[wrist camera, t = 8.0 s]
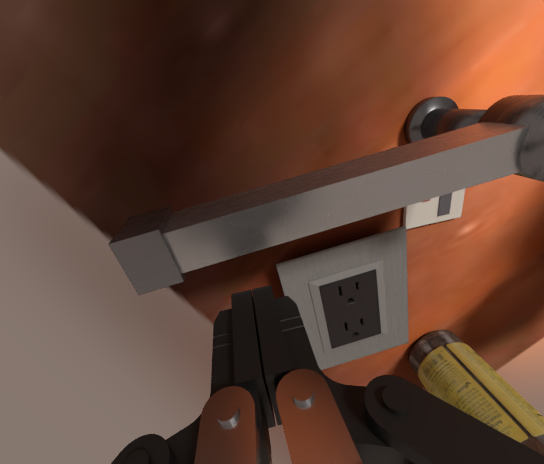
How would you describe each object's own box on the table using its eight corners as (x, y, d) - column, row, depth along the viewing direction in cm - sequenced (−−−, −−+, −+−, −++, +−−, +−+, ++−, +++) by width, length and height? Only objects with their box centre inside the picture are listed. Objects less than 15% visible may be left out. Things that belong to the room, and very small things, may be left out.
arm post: (405, 101, 19) (472, 102, 14) (454, 92, 19) (537, 89, 14) (403, 154, 21) (461, 172, 15) (447, 145, 21) (520, 159, 16)
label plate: (406, 156, 21) (410, 157, 20) (468, 143, 21) (473, 144, 21) (402, 227, 23) (406, 230, 23) (457, 215, 24) (461, 217, 23)
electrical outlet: (396, 327, 29) (410, 345, 27) (301, 357, 29) (308, 377, 27) (391, 217, 23) (408, 229, 21) (272, 253, 23) (277, 268, 21)
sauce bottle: (406, 374, 32) (631, 707, 15) (403, 338, 30) (677, 696, 12) (458, 356, 32) (742, 665, 15) (460, 319, 30) (814, 645, 12)
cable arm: (541, 86, 14) (617, 83, 11) (528, 157, 15) (592, 169, 13) (125, 207, 13) (100, 234, 10) (158, 268, 15) (143, 305, 12)
